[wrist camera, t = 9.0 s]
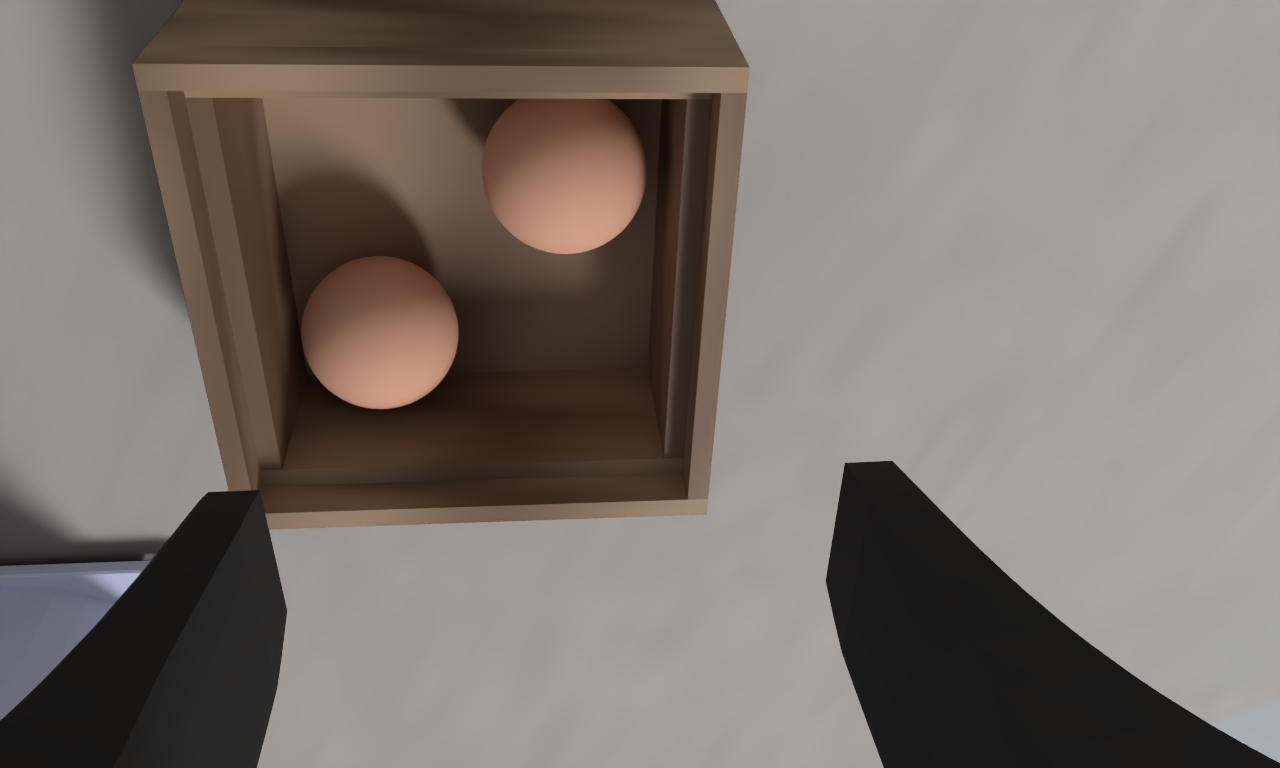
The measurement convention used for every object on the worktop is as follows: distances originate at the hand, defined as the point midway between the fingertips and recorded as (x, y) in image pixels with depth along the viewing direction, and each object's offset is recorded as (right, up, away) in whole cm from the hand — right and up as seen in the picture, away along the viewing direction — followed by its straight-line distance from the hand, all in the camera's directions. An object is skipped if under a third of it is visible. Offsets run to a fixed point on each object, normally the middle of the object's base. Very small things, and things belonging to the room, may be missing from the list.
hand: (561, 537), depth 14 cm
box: (-2, +5, +9) cm, 10 cm away
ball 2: (-1, +7, +7) cm, 10 cm away
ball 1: (-4, +4, +9) cm, 11 cm away
